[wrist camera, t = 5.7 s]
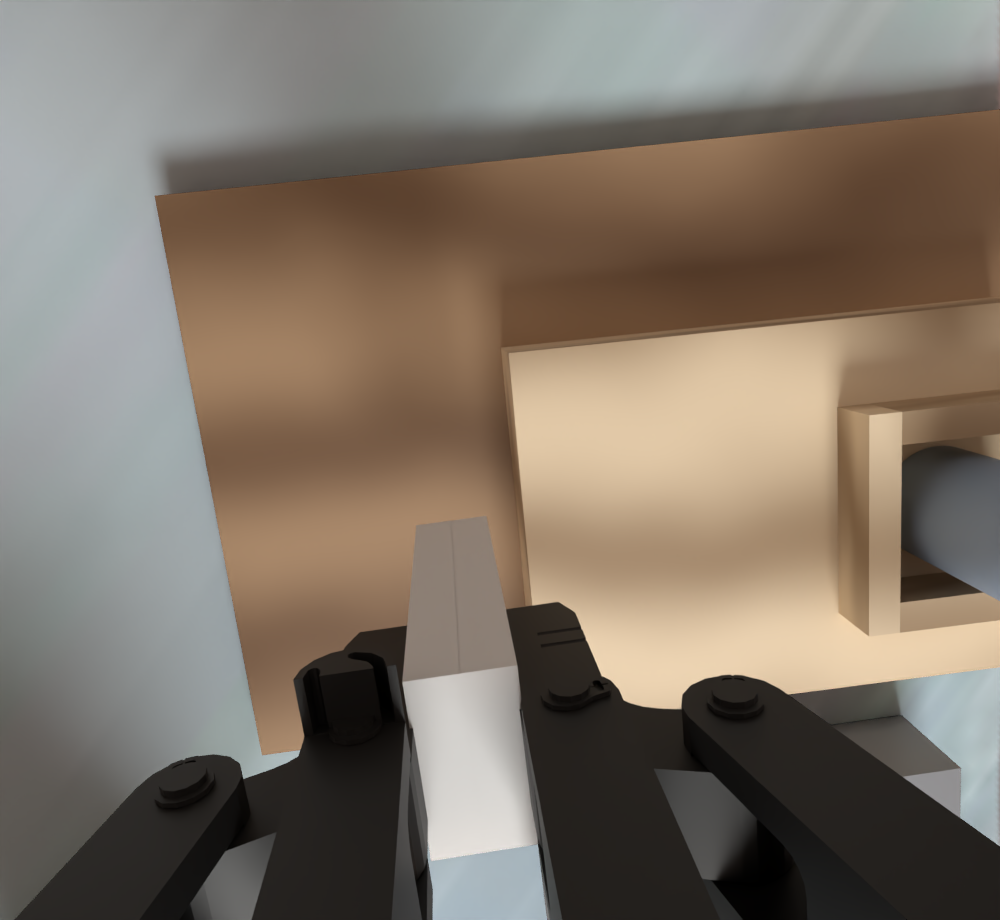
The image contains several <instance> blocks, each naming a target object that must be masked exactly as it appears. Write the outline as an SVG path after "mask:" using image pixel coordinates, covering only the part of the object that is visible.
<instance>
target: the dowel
mask: <svg viewBox="0 0 1000 920" xmlns="http://www.w3.org/2000/svg"><path fill="white" fill-rule="evenodd" d="M901 548H902V549H903V550H905V551H907V552H909V553H911V554H913V555H915V556H916V557H918V558H920V559H922V560H924V561H926V562H928V563H930V564H931V565H933V566H935V567H937V568H939V569H941V570H943V571H944V572H946V573H948V574H950V575H952V576H954V577H956V578H958V579H959V580H961V581H963V582H965V583H967V584H969V585H971V586H972V587H974V588H976V589H978V590H980V591H982V592H984V593H986V594H987V595H989V596H991V597H993V598H995V599H997V600H999V601H1000V460H999V459H996V458H992V457H989V456H985V455H982V454H978V453H975V452H971V451H968V450H964V449H961V448H957V447H952V446H934V447H929V448H926V449H923V450H921V451H919V452H916V453H915V454H913V455H911V456H910V457H908V458H907V459H906V460H904V461H903V462H902V488H901Z"/></svg>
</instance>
